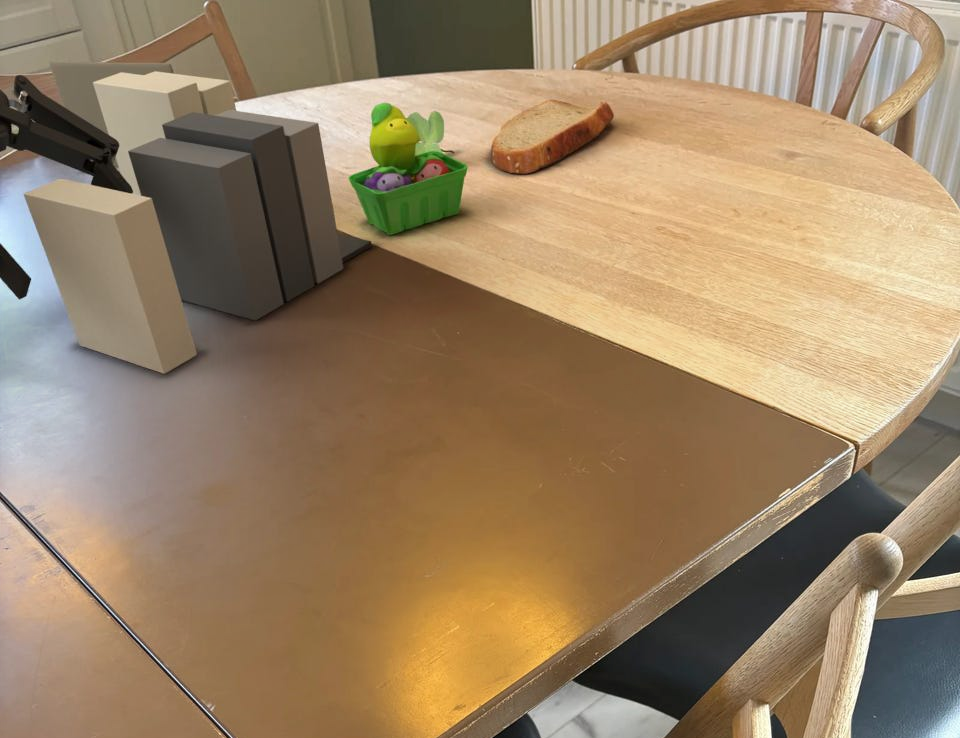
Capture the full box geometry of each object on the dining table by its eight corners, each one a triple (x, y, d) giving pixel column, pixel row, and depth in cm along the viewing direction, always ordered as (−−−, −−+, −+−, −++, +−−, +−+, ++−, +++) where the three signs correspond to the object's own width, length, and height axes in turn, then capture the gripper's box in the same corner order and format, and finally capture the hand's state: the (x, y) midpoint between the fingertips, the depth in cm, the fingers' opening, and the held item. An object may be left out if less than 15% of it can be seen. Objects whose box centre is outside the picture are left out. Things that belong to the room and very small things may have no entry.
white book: (164, 374, 90) (113, 215, 81) (79, 345, 96) (22, 193, 86) (197, 354, 93) (151, 197, 83) (112, 328, 98) (60, 178, 89)
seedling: (446, 201, 130) (414, 188, 124) (423, 148, 131) (390, 133, 126) (487, 165, 126) (456, 149, 120) (463, 110, 127) (431, 93, 122)
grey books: (255, 321, 97) (215, 155, 87) (171, 297, 102) (124, 139, 92) (379, 248, 108) (356, 93, 97) (296, 230, 113) (267, 82, 103)
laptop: (248, 145, 137) (224, 35, 128) (199, 178, 129) (170, 63, 120) (137, 140, 143) (107, 35, 134) (83, 172, 134) (47, 62, 125)
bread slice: (503, 178, 120) (501, 145, 117) (469, 134, 133) (466, 103, 130) (647, 154, 122) (648, 121, 120) (599, 113, 135) (599, 82, 133)
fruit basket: (384, 242, 108) (368, 129, 101) (348, 219, 114) (330, 111, 107) (475, 214, 112) (466, 103, 105) (435, 193, 118) (423, 87, 110)
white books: (206, 240, 113) (167, 92, 103) (135, 223, 119) (92, 82, 108) (293, 196, 121) (265, 55, 111) (223, 182, 127) (190, 47, 117)
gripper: (-226, 66, 77) (-27, 291, 80) (41, -10, 91) (201, 184, 95) (-222, 133, 83) (-37, 340, 86) (28, 51, 97) (179, 232, 101)
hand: (88, 259), depth 91 cm, fingers open, 13 cm apart
